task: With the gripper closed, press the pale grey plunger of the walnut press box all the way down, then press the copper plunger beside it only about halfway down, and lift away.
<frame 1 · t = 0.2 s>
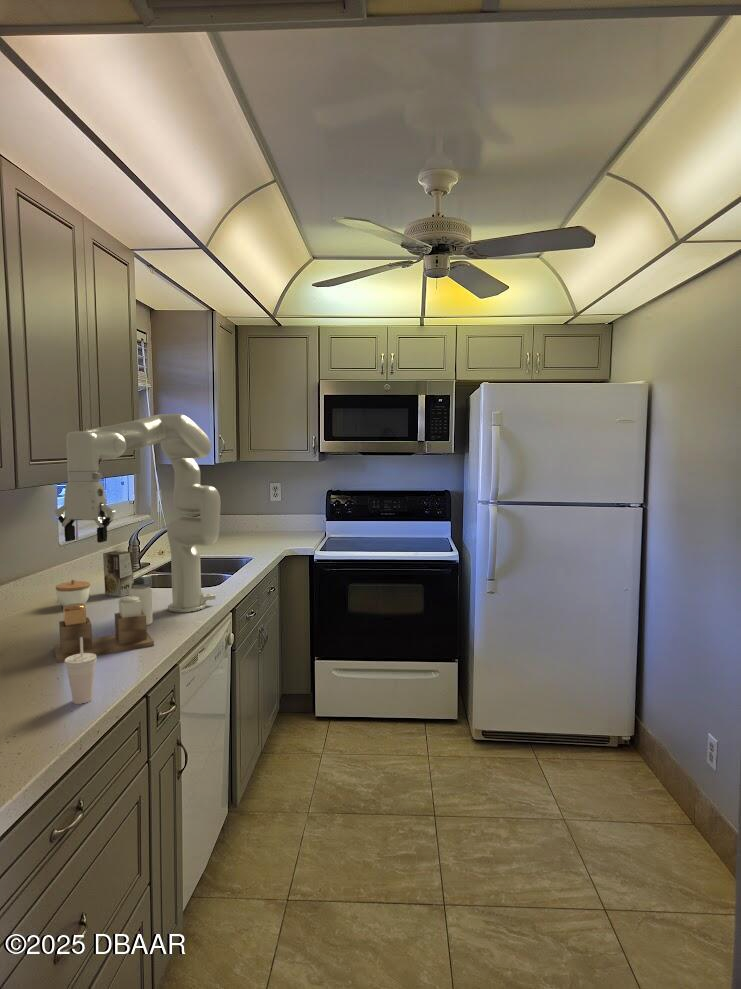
hand: (86, 541, 158), 30 cm above the worktop, tool pointing down, fingers open, 9 cm apart
can: (141, 624, 184), on the worktop
smoothie: (82, 701, 129), on the worktop
copper plunger: (74, 619, 158), point 9 cm above the worktop, slide at 0.0 cm
lidded jar: (74, 606, 205), on the worktop
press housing: (104, 647, 163), on the worktop
coffee box: (119, 594, 222), on the worktop
pale plunger: (130, 611, 166), point 9 cm above the worktop, slide at 0.0 cm
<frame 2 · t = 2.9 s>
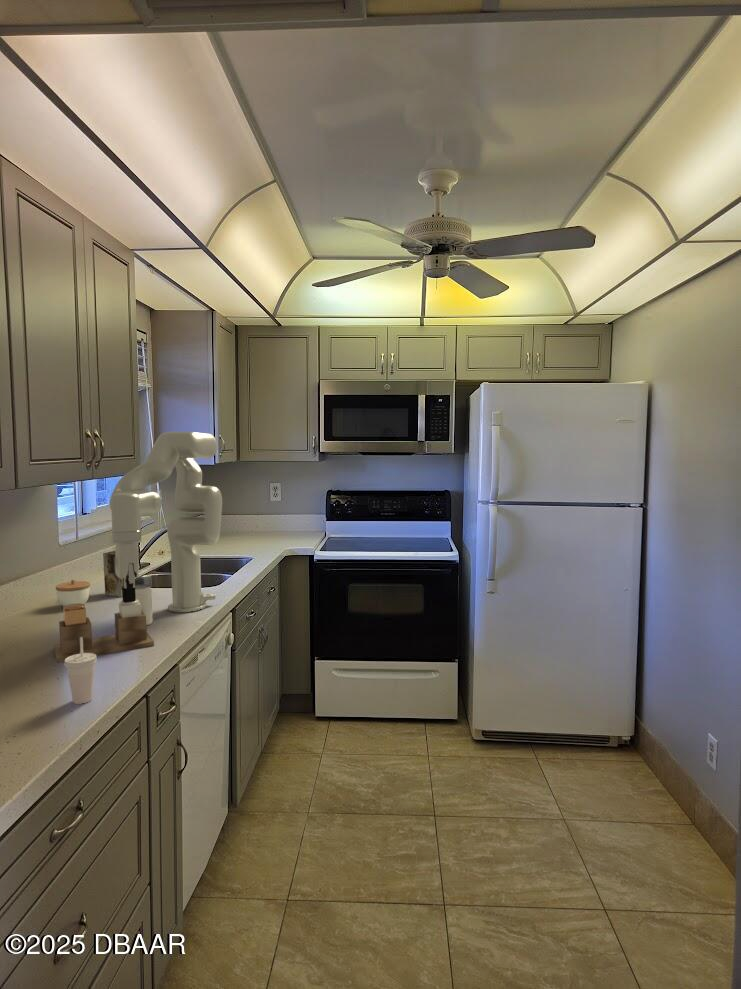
hand: (129, 601, 165), 12 cm above the worktop, tool pointing down, fingers closed
pale plunger: (130, 614, 166), point 8 cm above the worktop, slide at 0.8 cm, touching gripper
everything else where it was.
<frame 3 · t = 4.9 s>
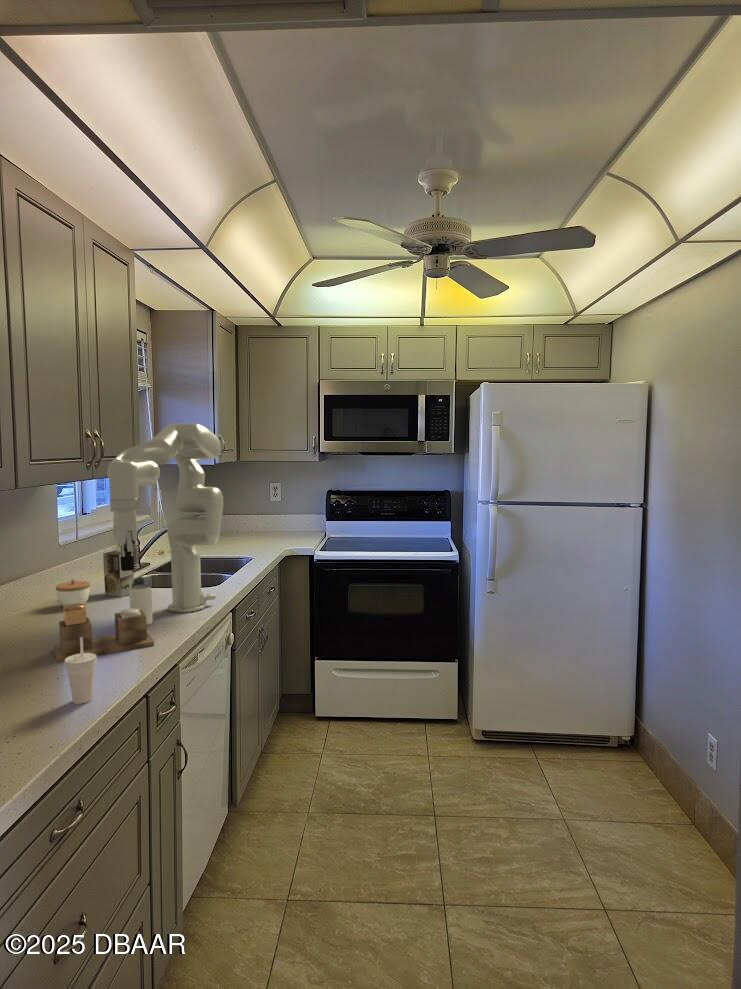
hand: (127, 570, 165), 21 cm above the worktop, tool pointing down, fingers closed
pale plunger: (130, 624, 166), point 5 cm above the worktop, slide at 3.6 cm
everything else where it was.
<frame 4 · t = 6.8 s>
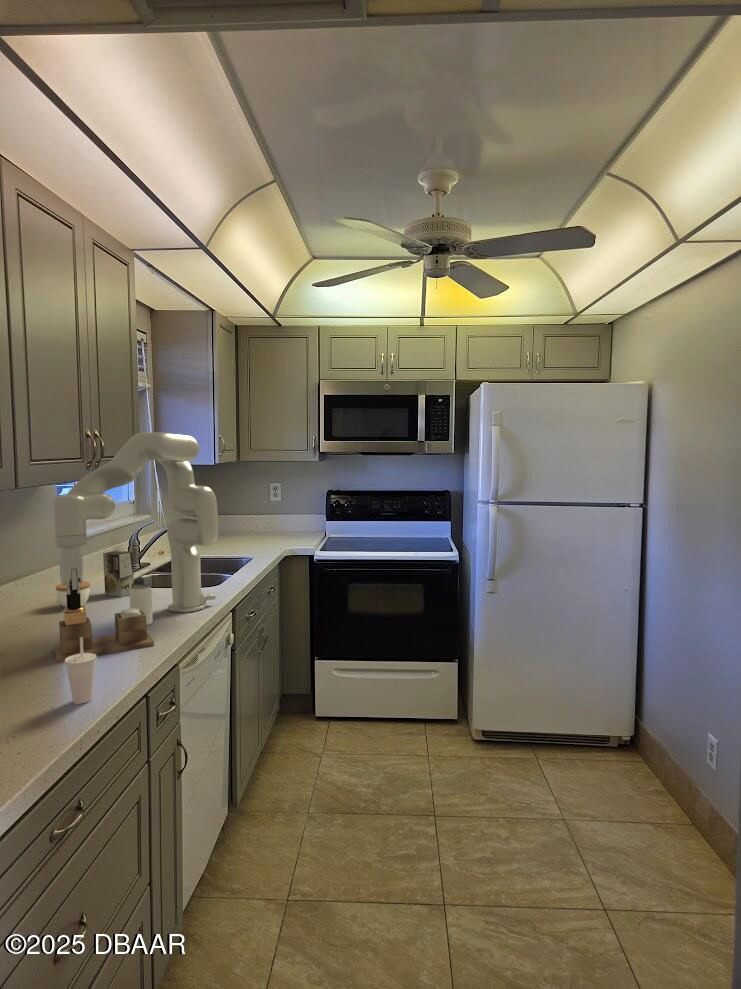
hand: (73, 608, 158), 12 cm above the worktop, tool pointing down, fingers closed
copper plunger: (75, 621, 158), point 8 cm above the worktop, slide at 0.7 cm, touching gripper
everything else where it was.
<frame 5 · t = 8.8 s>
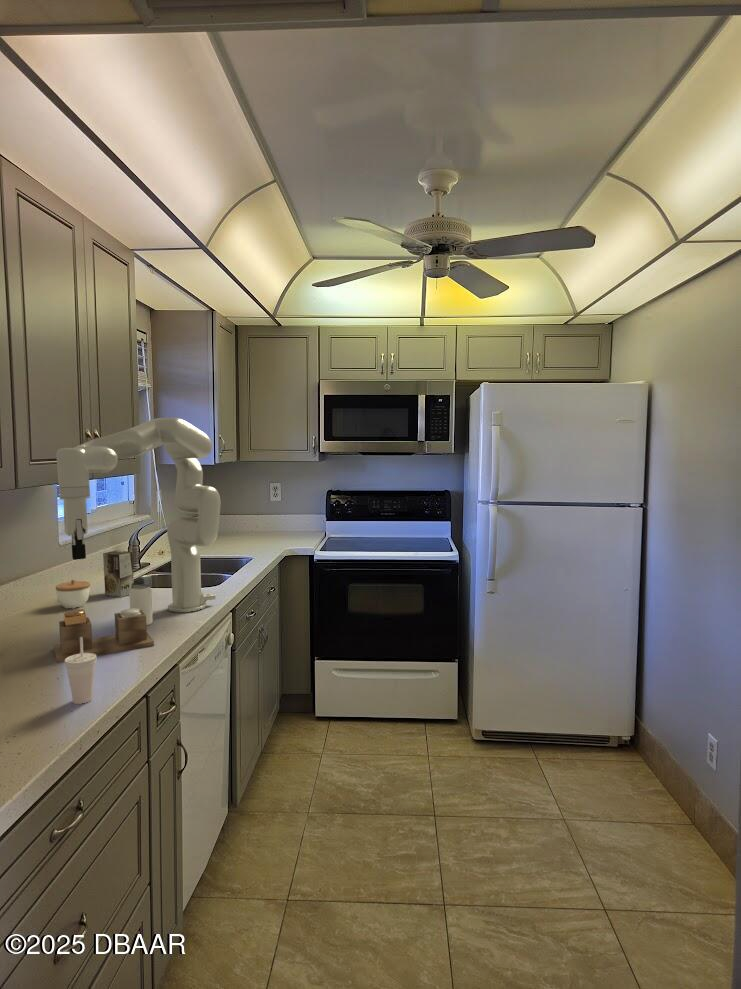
hand: (79, 558, 162), 25 cm above the worktop, tool pointing down, fingers closed
copper plunger: (75, 625, 159), point 7 cm above the worktop, slide at 1.7 cm
everything else where it was.
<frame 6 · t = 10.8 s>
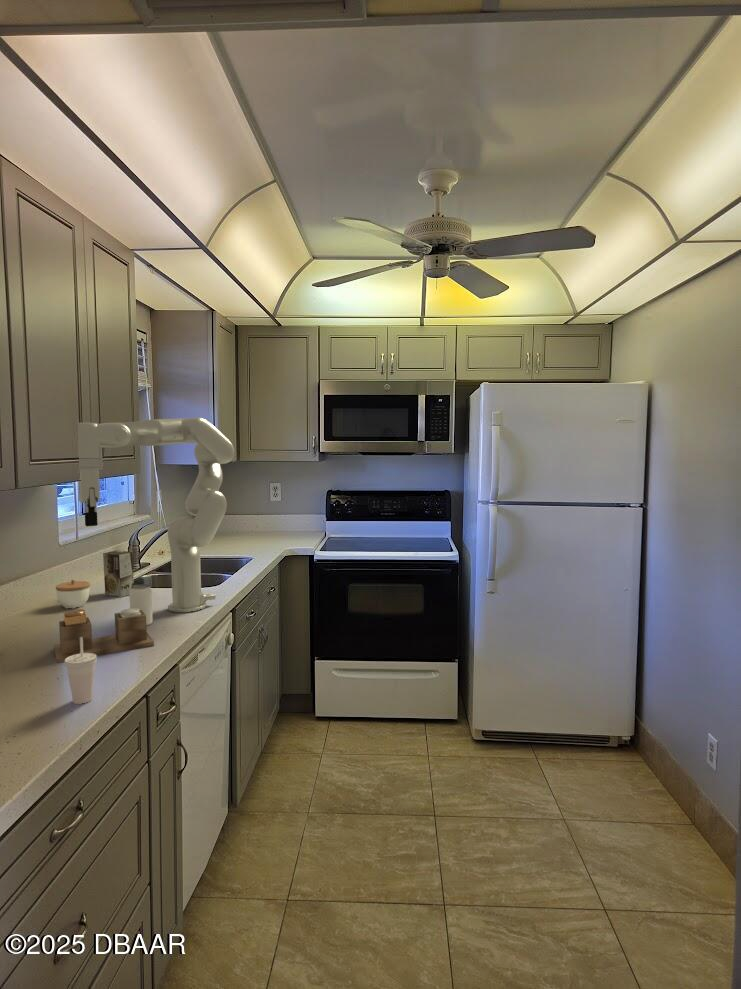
hand: (91, 525, 175), 32 cm above the worktop, tool pointing down, fingers closed
nothing on the worktop moved.
at the end: pale plunger slide at 3.6 cm; copper plunger slide at 1.7 cm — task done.
